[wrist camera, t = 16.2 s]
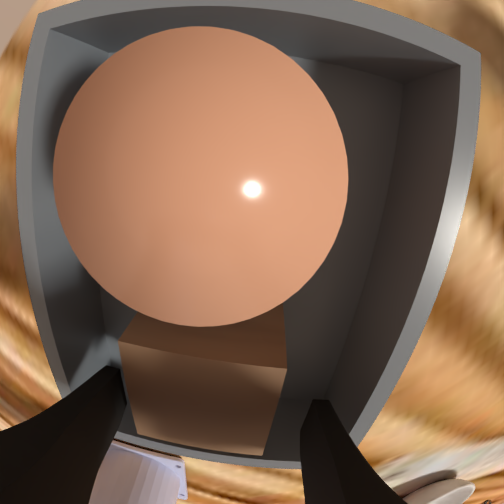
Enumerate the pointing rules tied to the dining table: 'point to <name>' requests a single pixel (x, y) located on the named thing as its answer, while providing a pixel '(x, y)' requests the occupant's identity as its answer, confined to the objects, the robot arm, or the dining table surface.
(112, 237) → the tan rounded piece
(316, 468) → the robot arm
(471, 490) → the spoon rest
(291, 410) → the grey tote
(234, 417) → the walnut cube
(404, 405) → the dining table surface
